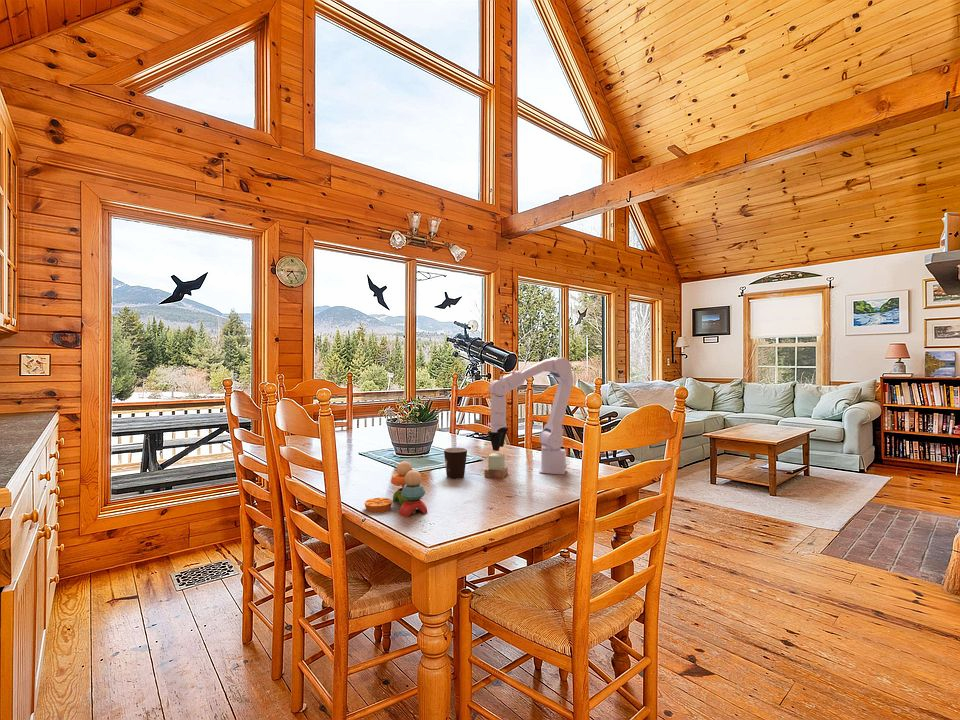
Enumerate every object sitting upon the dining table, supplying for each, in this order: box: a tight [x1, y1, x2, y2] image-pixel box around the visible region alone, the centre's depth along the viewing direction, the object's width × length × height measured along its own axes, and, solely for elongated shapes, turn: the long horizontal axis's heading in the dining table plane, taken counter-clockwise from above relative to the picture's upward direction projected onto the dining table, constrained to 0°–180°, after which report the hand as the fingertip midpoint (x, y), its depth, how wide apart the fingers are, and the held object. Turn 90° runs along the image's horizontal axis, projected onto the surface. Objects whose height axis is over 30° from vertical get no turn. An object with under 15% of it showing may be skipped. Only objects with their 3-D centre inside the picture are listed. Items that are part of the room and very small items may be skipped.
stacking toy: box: [364, 460, 428, 518], centre depth 142 cm, size 18×17×12 cm
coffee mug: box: [443, 446, 468, 480], centre depth 180 cm, size 12×9×10 cm
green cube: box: [487, 452, 506, 470], centre depth 181 cm, size 5×5×5 cm
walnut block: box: [484, 466, 509, 479], centre depth 181 cm, size 7×7×3 cm
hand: (498, 448), depth 182 cm, fingers open, 7 cm apart
